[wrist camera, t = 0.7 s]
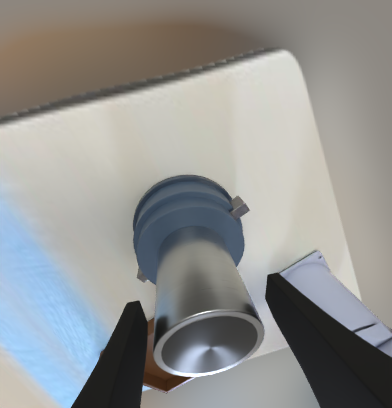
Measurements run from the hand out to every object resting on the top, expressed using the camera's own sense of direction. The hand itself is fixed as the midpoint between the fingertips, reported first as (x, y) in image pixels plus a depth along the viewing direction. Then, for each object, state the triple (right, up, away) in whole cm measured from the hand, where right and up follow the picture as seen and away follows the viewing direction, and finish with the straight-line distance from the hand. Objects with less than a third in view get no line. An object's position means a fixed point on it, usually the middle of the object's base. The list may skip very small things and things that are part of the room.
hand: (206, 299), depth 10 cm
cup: (-1, +1, +5) cm, 5 cm away
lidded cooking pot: (-2, +3, +10) cm, 10 cm away
